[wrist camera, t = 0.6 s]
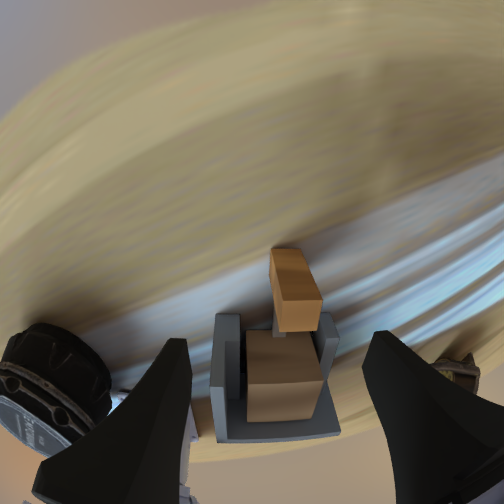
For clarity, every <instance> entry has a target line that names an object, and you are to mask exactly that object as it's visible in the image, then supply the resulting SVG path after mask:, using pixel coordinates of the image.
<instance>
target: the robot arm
mask: <svg viewBox="0 0 504 504" xmlns="http://www.w3.org/2000/svg"><path fill="white" fill-rule="evenodd" d="M362 370H363V374H364V378H365V382H366V385H367V389H368V391H369V394H370V397H371V399H372V402H373V404H374V407H375V409H376V412H377V414H378V417H379V419H380V422H381V424H382V427H383V429H384V432H385V435H386V438H387V443H388V447H389V451H390V455H391V461H392V467H393V473H394V481H395V489H396V504H504V406H501V405H498V404H495V403H493V402H490V401H488V400H486V399H483V398H481V397H479V396H477V395H475V394H473V393H471V392H469V391H468V390H466V389H464V388H462V387H461V386H459V385H458V384H456V383H454V382H453V381H451V380H450V379H448V378H447V377H445V376H444V375H443V374H441V373H440V372H438V371H437V370H436V369H434V368H433V367H432V366H431V365H429V364H428V363H427V362H426V361H424V360H423V359H422V358H421V357H419V356H418V355H417V354H416V353H415V352H413V351H412V350H411V349H410V348H409V347H408V346H406V345H405V344H404V343H403V342H402V341H401V340H399V339H398V338H397V337H396V336H394V335H393V334H392V333H391V332H389V331H388V330H384V331H376V332H374V334H373V337H372V340H371V343H370V346H369V349H368V352H367V354H366V357H365V360H364V362H363V365H362ZM191 390H192V369H191V364H190V358H189V353H188V347H187V341H186V339H181V338H170V339H168V340H167V342H166V344H165V345H164V347H163V348H162V350H161V351H160V353H159V355H158V356H157V357H156V359H155V360H154V362H153V363H152V365H151V366H150V367H149V369H148V370H147V371H146V373H145V374H144V376H143V377H142V378H141V380H140V381H139V382H138V383H137V385H136V386H135V387H134V388H133V389H132V391H131V392H130V393H124V392H118V393H117V397H118V399H119V401H120V404H119V405H118V406H117V407H116V408H115V409H114V410H113V411H112V412H111V413H110V414H109V415H108V416H107V417H106V418H105V419H104V420H103V421H101V422H100V423H99V424H98V425H97V426H96V427H95V428H93V429H92V430H91V431H90V432H88V433H87V434H86V435H84V436H83V437H81V438H80V439H79V440H77V441H76V442H74V443H73V444H72V445H70V446H69V447H67V448H65V449H64V450H62V451H60V452H58V453H57V454H55V455H53V456H51V457H49V458H48V459H46V460H44V461H42V462H41V464H40V466H39V468H38V471H37V474H36V478H35V481H34V484H33V488H32V491H31V492H32V494H33V495H34V496H35V497H37V498H38V499H40V500H41V501H43V502H44V503H46V504H199V503H198V502H197V500H196V498H195V497H194V496H192V495H190V488H189V487H186V486H185V483H186V481H187V477H188V476H187V475H188V465H189V454H190V443H191V442H198V441H199V437H198V433H197V429H196V425H195V421H194V417H193V413H192V408H191V404H190V400H191ZM23 504H31V503H29V502H27V501H26V500H25V501H23Z"/></svg>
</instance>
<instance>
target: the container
mask: <svg viewBox="0 0 504 504" xmlns="http://www.w3.org/2000/svg"><path fill="white" fill-rule="evenodd" d="M111 382H112V381H111V378H110V373H109V371H108V369H107V368H106V366H105V364H104V363H103V361H102V360H101V358H100V357H99V356H98V355H97V354H96V353H95V352H94V351H93V350H92V349H91V348H90V347H89V346H88V345H87V344H86V343H84V342H83V341H82V340H81V339H79V338H78V337H77V336H75V335H73V334H72V333H70V332H69V331H67V330H64V329H62V328H59V327H56V326H53V325H50V324H46V323H37V324H33V325H31V326H30V327H29V328H28V329H27V330H25V331H23V332H22V333H17V334H16V335H14V336H12V337H11V338H10V339H9V341H8V344H7V346H6V349H5V351H4V354H3V357H2V359H1V362H0V424H1V425H2V426H3V427H4V428H5V429H6V430H7V431H8V432H10V433H11V434H12V435H13V436H14V437H16V438H17V439H18V440H20V441H21V442H22V443H24V444H25V445H26V446H28V447H30V448H31V449H33V450H35V451H36V452H38V453H40V454H42V455H43V456H45V457H47V458H49V457H51V456H53V455H55V454H57V453H58V452H60V451H62V450H64V449H65V448H67V447H69V446H70V445H72V444H73V443H74V442H76V441H77V440H79V439H80V438H81V437H83V436H84V435H86V434H87V433H88V432H90V431H91V430H92V429H93V428H95V427H96V426H97V425H98V424H99V423H100V422H101V421H103V420H104V419H105V418H106V417H107V415H108V413H109V412H110V410H111V409H112V400H111V397H110V393H109V391H110V389H111Z"/></svg>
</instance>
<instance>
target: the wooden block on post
mask: <svg viewBox="0 0 504 504" xmlns="http://www.w3.org/2000/svg"><path fill="white" fill-rule="evenodd" d="M269 277H270V283H271V288H272V293H273V299H274V310H273V321H272V330H246V350H245V385H246V411H247V422H275V421H291V420H303V419H311V418H312V415H313V412H314V409H315V406H316V403H317V400H318V397H319V394H320V391H321V388H322V385H323V382H324V379H323V375H322V372H321V368H320V365H319V362H318V358H317V355H316V351H315V348H314V345H313V341H312V338H311V335H310V332H309V331H317V327H318V322H319V317H320V312H321V307H322V302H323V299H322V297H321V295H320V292H319V290H318V288H317V285H316V283H315V281H314V278H313V276H312V274H311V272H310V269H309V267H308V265H307V263H306V260H305V258H304V256H303V254H302V251H301V249H271V252H270V268H269Z"/></svg>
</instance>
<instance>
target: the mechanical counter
mask: <svg viewBox="0 0 504 504" xmlns="http://www.w3.org/2000/svg"><path fill="white" fill-rule="evenodd" d="M429 365H431V366H432V367H433V368H434V369H436V370H437V371H438V372H440V373H441V374H443V375H444V376H445V377H447V378H448V379H450V380H451V381H453V382H454V383H456V384H458V385H459V386H461V387H462V388H464V389H466V390H468V391H469V392H471V393H473V394H475V395H476V394H477V391H478V386H479V378H480V369H479V367H477V366H475V362H474V358H473V354H472V353H471V352H470V353H468V354H467V356H466V357H465V358H464V359H463V360H462V361H461V362H460V361H455V360H451V359H444V358H443V359H440V360H438V361H436V362H435V363H432V364H429Z"/></svg>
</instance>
